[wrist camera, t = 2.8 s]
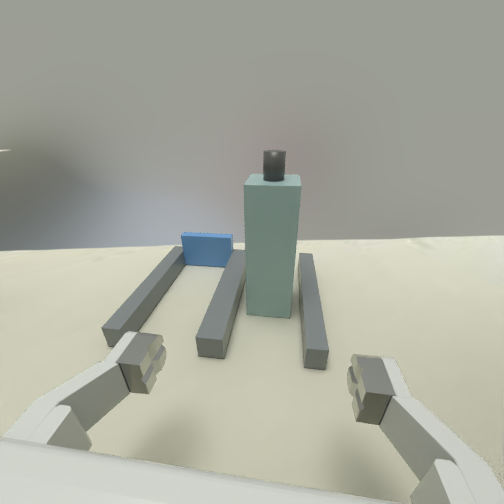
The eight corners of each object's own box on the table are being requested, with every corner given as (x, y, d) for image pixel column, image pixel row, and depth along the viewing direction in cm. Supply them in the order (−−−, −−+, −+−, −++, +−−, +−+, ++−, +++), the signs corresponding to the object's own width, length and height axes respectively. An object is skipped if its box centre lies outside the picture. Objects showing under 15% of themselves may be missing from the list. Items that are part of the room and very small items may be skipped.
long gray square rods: (310, 268, 30) (314, 238, 28) (325, 369, 18) (333, 329, 16) (177, 259, 32) (172, 231, 30) (108, 346, 20) (93, 307, 18)
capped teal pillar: (289, 291, 26) (301, 148, 19) (289, 318, 23) (304, 155, 16) (252, 289, 27) (251, 148, 20) (246, 314, 23) (242, 154, 16)
